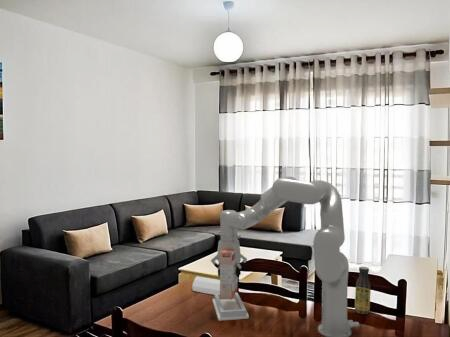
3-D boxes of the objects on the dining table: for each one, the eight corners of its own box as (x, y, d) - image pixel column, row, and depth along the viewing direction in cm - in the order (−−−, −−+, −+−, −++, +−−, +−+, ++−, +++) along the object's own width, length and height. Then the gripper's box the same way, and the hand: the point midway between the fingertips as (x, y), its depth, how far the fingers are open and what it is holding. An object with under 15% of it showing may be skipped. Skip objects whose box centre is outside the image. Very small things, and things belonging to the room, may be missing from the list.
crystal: (187, 284, 202) (228, 292, 191) (193, 274, 208) (234, 281, 196) (191, 295, 206) (232, 303, 195) (197, 284, 211) (238, 291, 200)
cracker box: (233, 300, 172) (232, 252, 171) (219, 299, 173) (219, 251, 172) (238, 289, 186) (238, 244, 185) (225, 288, 187) (225, 244, 186)
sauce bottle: (353, 313, 174) (353, 268, 173) (356, 308, 179) (356, 264, 179) (369, 316, 171) (369, 270, 170) (371, 311, 176) (371, 266, 176)
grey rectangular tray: (239, 299, 192) (239, 292, 191) (248, 318, 170) (248, 310, 170) (212, 301, 190) (212, 293, 190) (218, 320, 168) (218, 312, 168)
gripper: (246, 235, 183) (246, 273, 184) (208, 237, 181) (209, 275, 182) (249, 239, 176) (249, 278, 177) (210, 240, 173) (210, 280, 174)
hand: (229, 276), depth 179 cm, fingers closed on cracker box, 7 cm apart
